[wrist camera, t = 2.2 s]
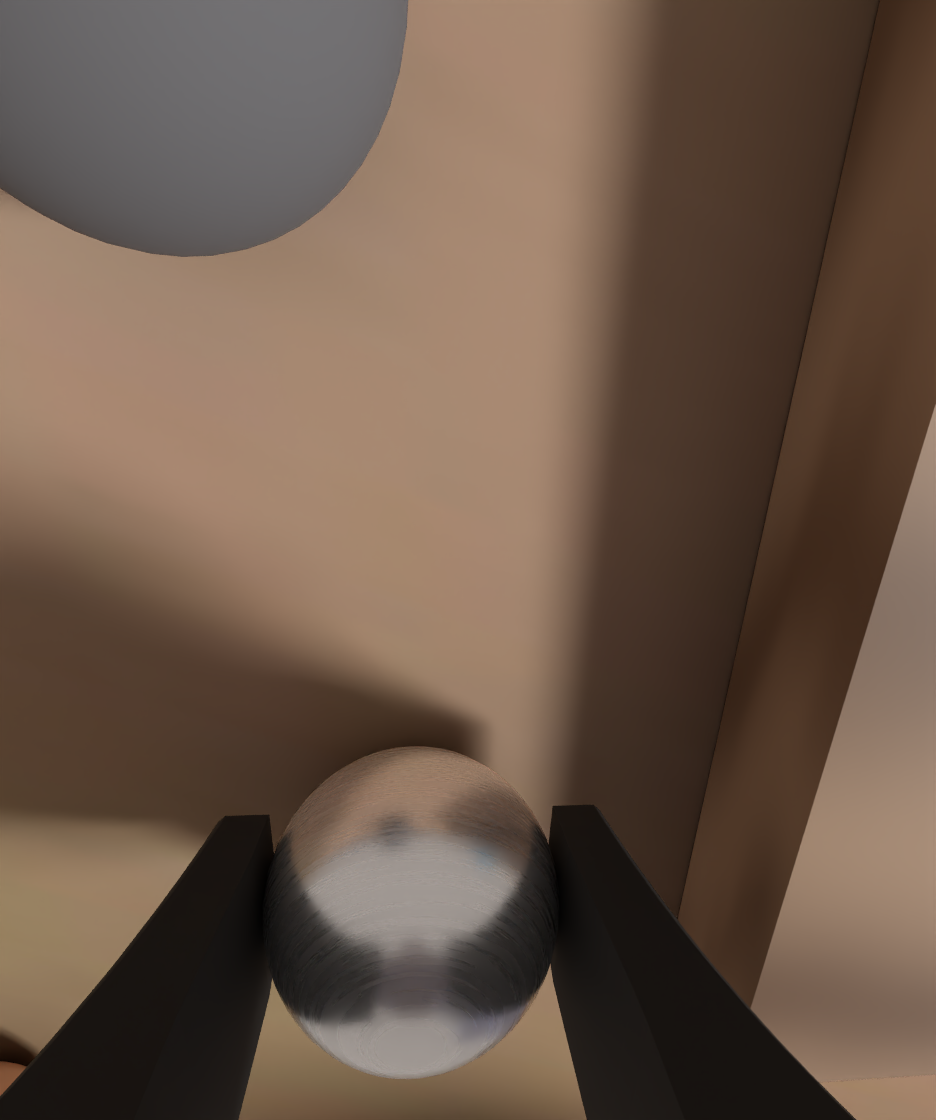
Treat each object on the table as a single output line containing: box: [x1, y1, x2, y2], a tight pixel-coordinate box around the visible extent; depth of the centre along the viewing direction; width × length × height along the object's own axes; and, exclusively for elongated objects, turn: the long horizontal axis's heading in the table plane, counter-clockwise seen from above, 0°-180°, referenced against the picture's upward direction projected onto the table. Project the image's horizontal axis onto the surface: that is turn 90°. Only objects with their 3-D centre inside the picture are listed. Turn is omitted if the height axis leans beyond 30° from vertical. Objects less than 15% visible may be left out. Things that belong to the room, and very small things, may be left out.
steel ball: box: [263, 746, 559, 1079], centre depth 9 cm, size 4×4×4 cm
